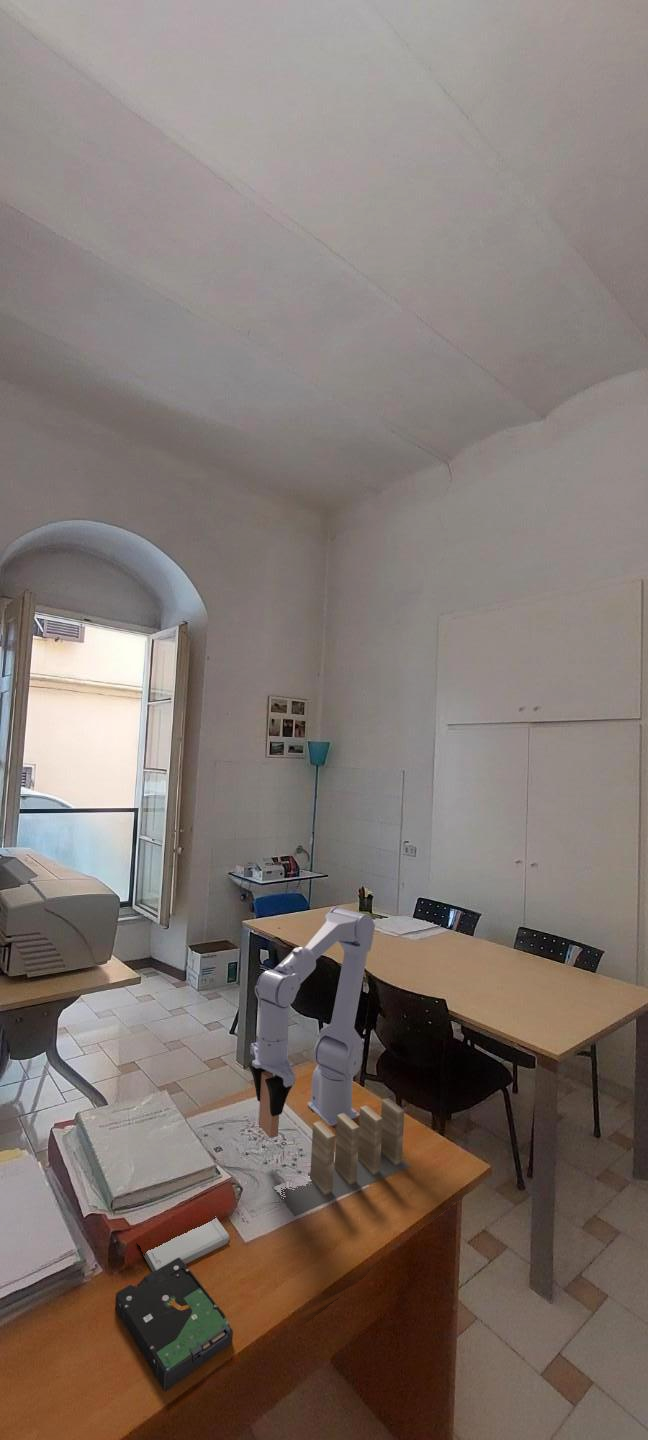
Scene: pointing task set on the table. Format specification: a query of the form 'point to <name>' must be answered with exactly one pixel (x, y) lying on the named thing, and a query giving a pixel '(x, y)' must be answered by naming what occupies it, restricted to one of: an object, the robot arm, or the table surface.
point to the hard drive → (188, 1245)
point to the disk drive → (173, 1322)
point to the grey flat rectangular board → (335, 1187)
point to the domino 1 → (267, 1109)
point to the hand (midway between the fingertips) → (269, 1106)
